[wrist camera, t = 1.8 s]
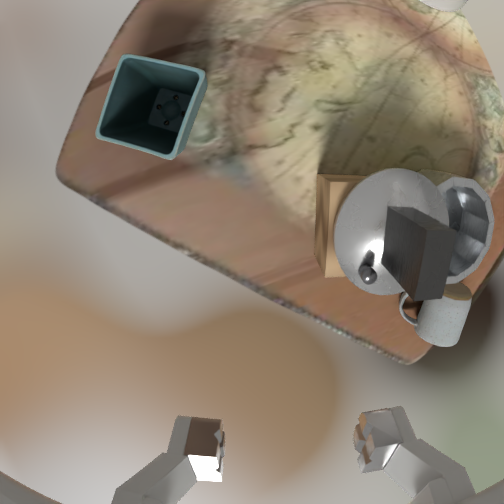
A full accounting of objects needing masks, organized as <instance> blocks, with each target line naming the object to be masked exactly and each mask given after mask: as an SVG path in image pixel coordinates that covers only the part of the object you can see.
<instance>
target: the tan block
mask: <svg viewBox="0 0 504 504" xmlns="http://www.w3.org/2000/svg"><path fill="white" fill-rule="evenodd" d="M365 177H366V176H360V175H338V174H317V198H316V226H315V247H314V255H315V257H316V259H317V261H318V263H319V265H320V268H321V270H322V272H323V274H324V276H325V277H347V276H346V275H345V274H344V272H343V270H342V269H341V267H340V265H339V263H338V261H337V258H336V255H335V252H334V246H333V229H334V223H335V219H336V215H337V212H338V210H339V207H340V205H341V203H342V202H343V200H344V198H345V197H346V195H347V194H348V192H349V191H350V190H351V189H352V188H353V187H354V186H355V185H356V184H357V183H358V182H359V181H360V180H362V179H363V178H365Z"/></svg>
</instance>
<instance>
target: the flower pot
mask: <svg viewBox="0 0 504 504" xmlns="http://www.w3.org/2000/svg"><path fill="white" fill-rule="evenodd" d="M206 89H207V79H206V74H205V71H204V70H202V69H199V68H195V67H191V66H186V65H182V64H178V63H173V62H168V61H164V60H159V59H154V58H149V57H144V56H138V55H133V54H123V55H122V56H121V58H120V60H119V62H118V65H117V68H116V71H115V73H114V76H113V79H112V82H111V85H110V88H109V91H108V94H107V97H106V100H105V103H104V106H103V109H102V112H101V116H100V119H99V122H98V125H97V128H96V137H97V138H98V139H101V140H104V141H108V142H112V143H116V144H120V145H123V146H127V147H130V148H134V149H137V150H140V151H144V152H147V153H150V154H153V155H156V156H159V157H162V158H165V159H168V160H172V159H174V158H175V157H176V156H177V155H178V154H180V153H181V152H182V151H183V150H184V148H185V146H186V143H187V140H188V137H189V134H190V132H191V129H192V126H193V123H194V120H195V118H196V115H197V112H198V110H199V107H200V104H201V102H202V99H203V97H204V94H205V92H206ZM174 96H178V99H177V100H175V99H174ZM158 105H161V109H158V108H157V106H158ZM182 112H186V114H185V116H182ZM166 121H168V122H169V124H168V125H165V122H166Z"/></svg>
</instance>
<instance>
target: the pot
mask: <svg viewBox="0 0 504 504" xmlns="http://www.w3.org/2000/svg"><path fill="white" fill-rule="evenodd" d="M418 173H420V174H422V175H423V176H425V177H426V178H428V179H429V180H430V181H431V182H432V183H433V184H434V185H435V186H436V187H437V188H438V190H439V191H440V193H441V194H442V196H443V198H444V201H445V203H446V206H447V210H448V216H449V227H450V228H452V229H454V230H456V237H455V243H454V248H453V253H452V258H451V263H450V268H449V272H448V276H447V281H446V284H454V283H458V282H459V281H461V280H462V279H464V278H465V277H467V276H468V275H469V274H471V273H472V272H473V271H475V270H476V269H477V267H478V266H479V264H480V263H481V261H482V259H483V258H484V256H485V254H486V253H487V251H488V249H489V247H490V243H491V238H492V233H493V227H494V216H493V211H492V207H491V202H490V198H489V196H488V195H487V193H486V192H485V191H484V190H483V189H482V188H481V187H480V185H479V184H478V183H477V182H476V181H475V180H473V179H470V178H466V177H463V176H459V175H455V174H452V173H448V172H444V171H437V170H429V169H422V170H420V171H419V172H418ZM475 268H476V269H475Z"/></svg>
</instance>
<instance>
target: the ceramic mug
mask: <svg viewBox="0 0 504 504" xmlns="http://www.w3.org/2000/svg"><path fill="white" fill-rule="evenodd" d="M408 296H409V295H408V294H407V293H406V291H404V292H403V294H402V296H401V298H400V302H399V310H400V313H401V315H402V316H403V318H404V319H405V320H406V321H408V322H409V323H411V324H413V325H414V329H415V331H416V333H417V334H418V335H419V336H420V337H421V338H422V339H424V340H425V341H427V342H429V343H431V344H434V345H438V346H443V347H449V346H453V345H455V344H456V343H457V342H458V340H459V337H460V334H461V331H462V329H463V326H464V323H465V320H466V317H467V314H468V311H469V308H470V305H471V299H472V293H471V291H470V289H469V288H468V287H467V286H465V285H464V284H462V283H460V282H458V283H454V284H446V285H445V289H444V293H443V296H442V299H433V300H424V302H423V304H422V307H421V309H420V312H419V314H418V317H417V319H413V318H411V317H409V316H408V315H407V314H406V313H405V312H404V311H403V309H402V307H403V303H404V301H405V298H406V297H408Z"/></svg>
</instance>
